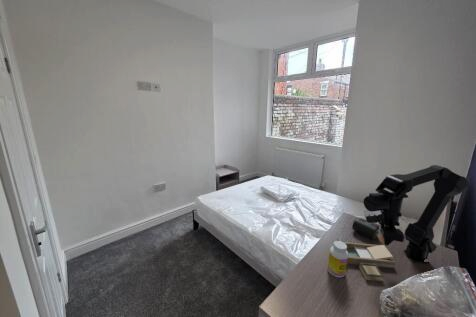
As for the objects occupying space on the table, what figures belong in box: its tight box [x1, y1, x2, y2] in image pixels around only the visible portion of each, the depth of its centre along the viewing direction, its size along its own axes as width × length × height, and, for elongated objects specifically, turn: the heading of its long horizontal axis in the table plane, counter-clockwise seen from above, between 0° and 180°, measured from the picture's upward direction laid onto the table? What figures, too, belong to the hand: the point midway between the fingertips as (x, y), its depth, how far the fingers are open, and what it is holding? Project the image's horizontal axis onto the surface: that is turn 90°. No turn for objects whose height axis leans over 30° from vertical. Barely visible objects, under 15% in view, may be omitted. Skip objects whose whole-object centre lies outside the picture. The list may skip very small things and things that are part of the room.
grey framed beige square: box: [358, 263, 384, 282], centre depth 79 cm, size 6×6×2 cm
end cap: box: [351, 218, 380, 241], centre depth 102 cm, size 10×7×7 cm
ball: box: [378, 232, 384, 245], centre depth 81 cm, size 4×4×4 cm
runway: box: [336, 237, 397, 269], centre depth 87 cm, size 19×10×5 cm, turn 81°
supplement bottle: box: [326, 240, 349, 279], centre depth 79 cm, size 7×7×13 cm
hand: (384, 241), depth 82 cm, fingers closed on ball, 4 cm apart
